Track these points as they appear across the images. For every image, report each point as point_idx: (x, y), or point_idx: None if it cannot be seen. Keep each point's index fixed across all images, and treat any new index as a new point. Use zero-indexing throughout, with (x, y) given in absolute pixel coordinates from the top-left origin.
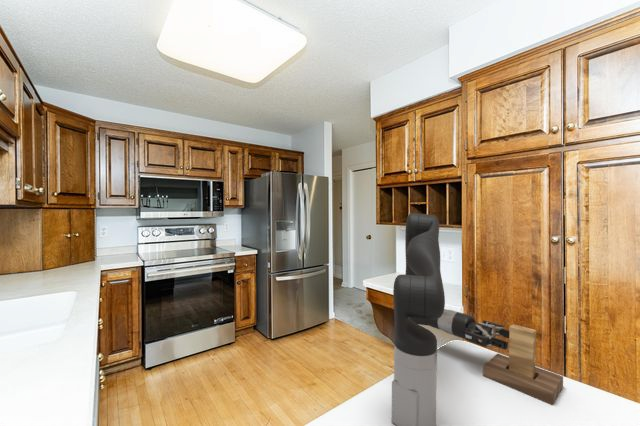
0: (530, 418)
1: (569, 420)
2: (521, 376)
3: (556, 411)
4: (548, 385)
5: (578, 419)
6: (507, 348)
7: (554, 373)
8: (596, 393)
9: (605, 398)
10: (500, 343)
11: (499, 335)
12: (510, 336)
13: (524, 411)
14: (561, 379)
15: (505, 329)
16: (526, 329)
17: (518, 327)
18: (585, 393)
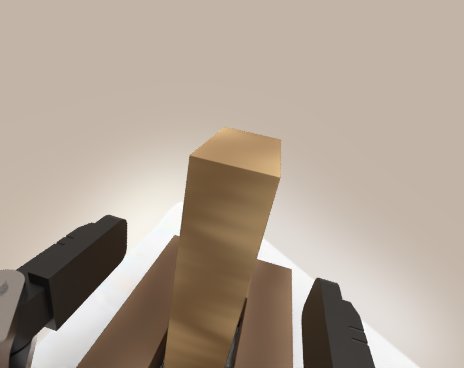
0: (392, 351)
1: (310, 277)
2: (257, 336)
3: (298, 292)
4: (256, 271)
5: (291, 263)
6: (304, 308)
7: (165, 247)
8: (162, 219)
9: (175, 214)
10: (360, 326)
11: (29, 362)
12: (261, 240)
13: (377, 365)
14: None
15: (40, 264)
16: (248, 140)
17: (245, 152)
18: (172, 232)
